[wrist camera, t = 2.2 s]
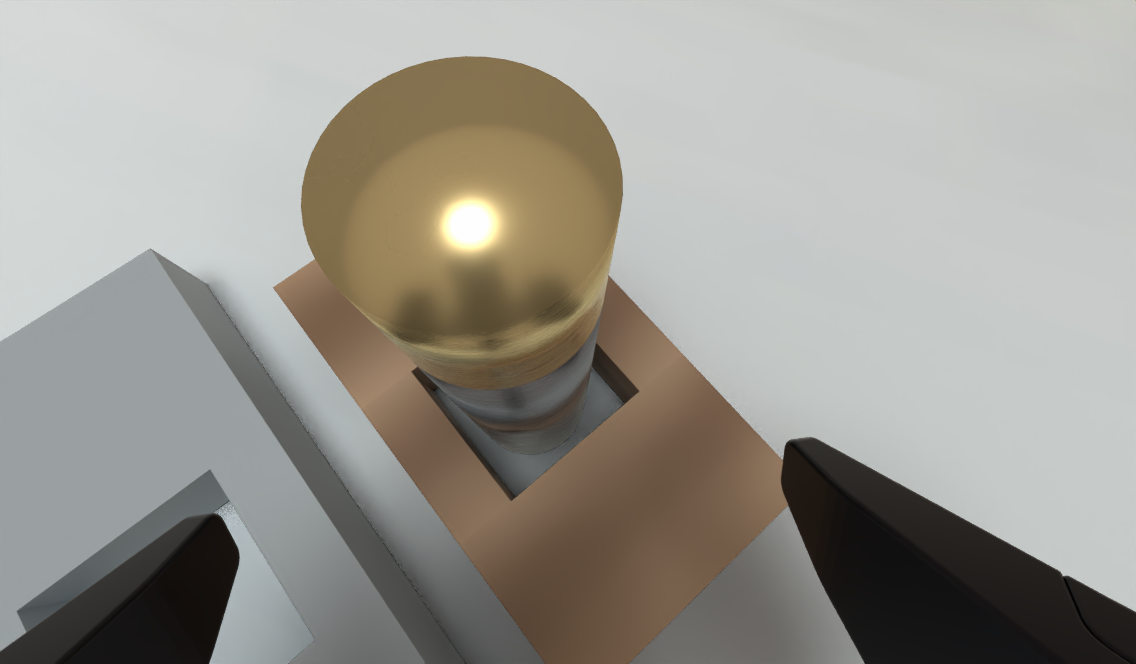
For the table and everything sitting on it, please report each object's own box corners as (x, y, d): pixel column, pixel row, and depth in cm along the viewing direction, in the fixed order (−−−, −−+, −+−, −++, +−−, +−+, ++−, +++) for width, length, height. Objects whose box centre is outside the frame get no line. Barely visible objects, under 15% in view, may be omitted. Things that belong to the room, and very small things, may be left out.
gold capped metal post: (606, 406, 20) (688, 199, 7) (522, 477, 19) (424, 404, 6) (538, 328, 21) (492, 11, 8) (455, 393, 20) (240, 164, 7)
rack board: (557, 797, 16) (555, 859, 13) (265, 1097, 14) (189, 1246, 11) (205, 283, 21) (150, 248, 19) (-46, 447, 19) (-151, 436, 16)
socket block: (770, 490, 19) (807, 486, 16) (577, 678, 17) (579, 711, 14) (495, 190, 23) (485, 144, 20) (312, 317, 21) (273, 287, 18)
